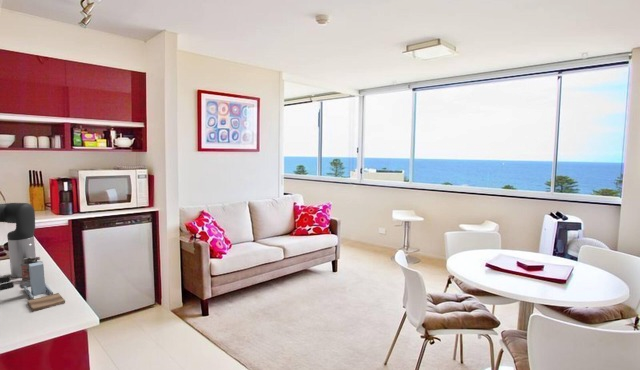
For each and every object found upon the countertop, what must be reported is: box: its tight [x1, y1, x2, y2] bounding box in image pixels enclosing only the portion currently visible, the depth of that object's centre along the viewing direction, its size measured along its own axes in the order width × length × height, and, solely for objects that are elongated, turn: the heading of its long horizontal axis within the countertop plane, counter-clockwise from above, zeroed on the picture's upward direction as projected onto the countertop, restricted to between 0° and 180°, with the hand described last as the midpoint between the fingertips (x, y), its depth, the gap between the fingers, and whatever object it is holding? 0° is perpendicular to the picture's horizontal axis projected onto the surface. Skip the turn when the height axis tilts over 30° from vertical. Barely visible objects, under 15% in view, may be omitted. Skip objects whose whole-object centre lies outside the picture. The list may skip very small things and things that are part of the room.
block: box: [29, 261, 47, 297], centre depth 144 cm, size 4×4×12 cm
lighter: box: [21, 256, 44, 282], centre depth 159 cm, size 8×3×10 cm, turn 105°
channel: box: [23, 282, 54, 300], centre depth 145 cm, size 16×7×2 cm, turn 48°
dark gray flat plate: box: [19, 281, 31, 289], centre depth 153 cm, size 6×7×1 cm
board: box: [27, 292, 66, 312], centre depth 135 cm, size 10×10×1 cm
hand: (11, 281), depth 138 cm, fingers open, 8 cm apart
